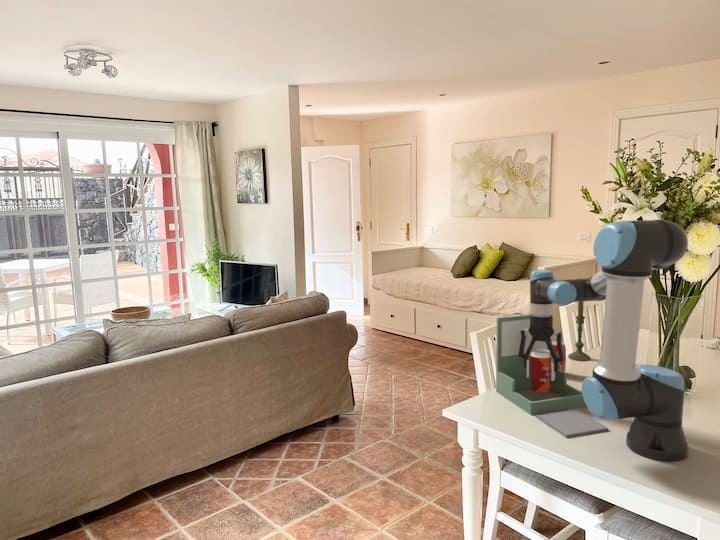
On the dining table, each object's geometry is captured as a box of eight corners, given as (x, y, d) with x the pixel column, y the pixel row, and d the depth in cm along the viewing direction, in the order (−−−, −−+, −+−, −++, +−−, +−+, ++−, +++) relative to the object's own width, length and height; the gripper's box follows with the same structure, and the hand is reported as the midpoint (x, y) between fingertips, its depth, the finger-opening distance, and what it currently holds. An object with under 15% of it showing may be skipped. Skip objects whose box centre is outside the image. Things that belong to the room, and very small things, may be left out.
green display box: (587, 406, 176) (589, 325, 172) (530, 414, 170) (531, 332, 166) (547, 384, 197) (549, 312, 193) (496, 391, 191) (496, 317, 187)
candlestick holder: (589, 355, 230) (591, 289, 226) (591, 361, 222) (593, 293, 218) (567, 354, 233) (568, 288, 229) (568, 360, 224) (570, 292, 220)
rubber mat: (608, 430, 157) (608, 427, 157) (565, 437, 153) (566, 435, 153) (575, 411, 172) (575, 409, 172) (536, 417, 168) (536, 415, 168)
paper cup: (548, 395, 177) (548, 355, 175) (526, 390, 182) (526, 352, 180) (555, 388, 183) (555, 350, 182) (533, 384, 188) (533, 347, 186)
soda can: (567, 372, 209) (567, 341, 207) (563, 378, 203) (563, 346, 201) (548, 370, 213) (549, 339, 211) (544, 375, 207) (545, 343, 205)
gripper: (574, 314, 177) (573, 378, 180) (514, 310, 188) (513, 371, 190) (571, 319, 171) (570, 385, 174) (508, 314, 181) (508, 377, 184)
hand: (540, 378), depth 182 cm, fingers closed on paper cup, 8 cm apart
